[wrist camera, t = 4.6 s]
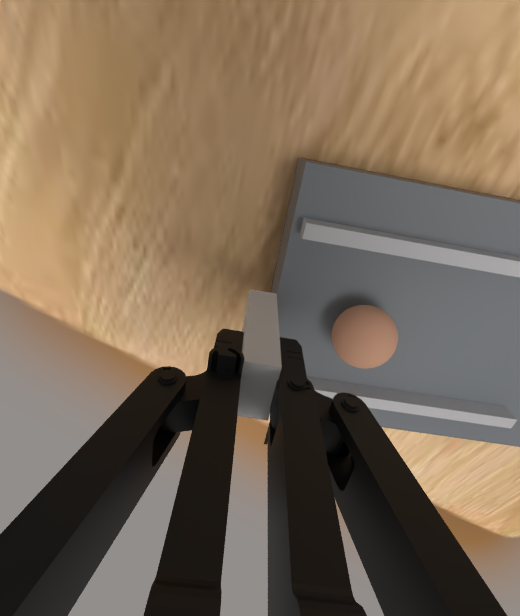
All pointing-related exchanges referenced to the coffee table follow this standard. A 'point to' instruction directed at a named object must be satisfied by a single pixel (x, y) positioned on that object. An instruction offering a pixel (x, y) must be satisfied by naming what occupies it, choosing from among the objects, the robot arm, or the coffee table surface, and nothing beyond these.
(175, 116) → the coffee table surface
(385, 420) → the plate
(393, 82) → the coffee table surface
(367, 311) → the ball
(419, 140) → the coffee table surface
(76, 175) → the coffee table surface
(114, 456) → the robot arm
